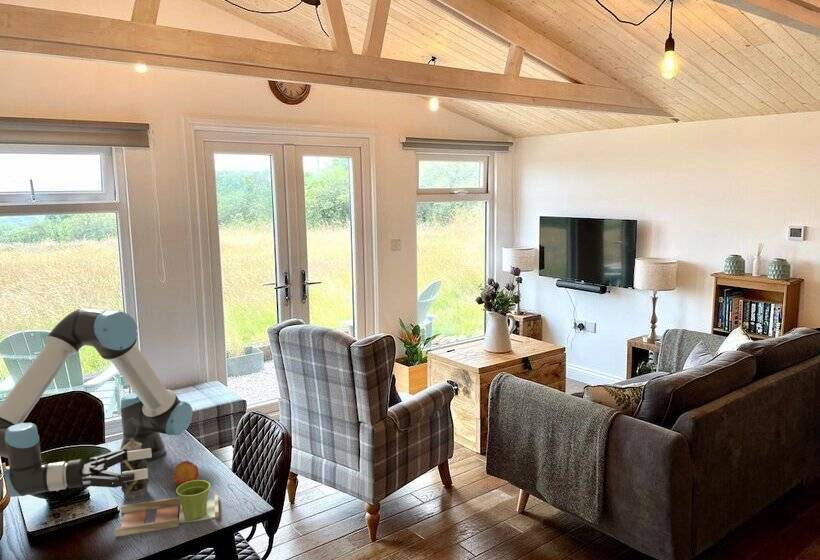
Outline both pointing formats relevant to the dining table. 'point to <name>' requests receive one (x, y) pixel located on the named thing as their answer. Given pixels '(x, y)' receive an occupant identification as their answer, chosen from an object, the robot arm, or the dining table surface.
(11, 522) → the dining table surface
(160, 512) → the trap box
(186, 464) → the fruit
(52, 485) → the robot arm
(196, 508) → the plant pot
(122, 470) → the lantern
